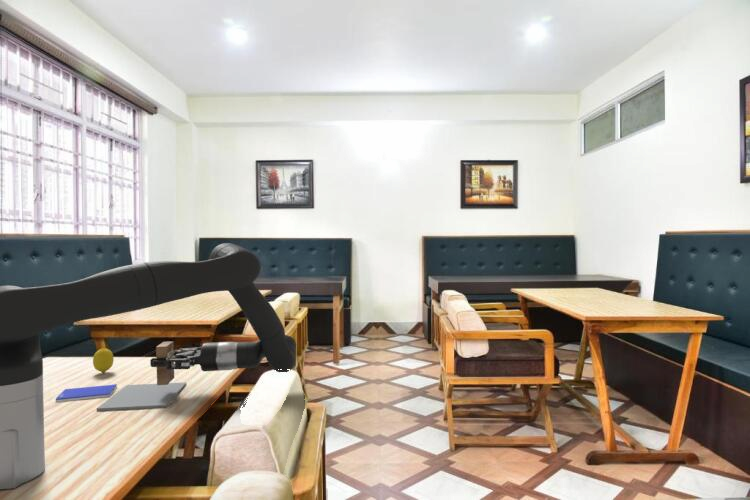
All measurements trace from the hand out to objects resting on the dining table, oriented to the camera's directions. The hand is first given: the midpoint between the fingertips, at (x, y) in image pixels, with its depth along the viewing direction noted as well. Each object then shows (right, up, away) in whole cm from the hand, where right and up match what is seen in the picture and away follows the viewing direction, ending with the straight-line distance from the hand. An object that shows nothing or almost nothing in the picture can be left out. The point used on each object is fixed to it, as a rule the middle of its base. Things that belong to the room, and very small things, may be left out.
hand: (155, 359), depth 120 cm
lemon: (-27, -10, +22) cm, 36 cm away
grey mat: (-3, -10, 0) cm, 10 cm away
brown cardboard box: (+3, -6, +1) cm, 6 cm away
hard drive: (-19, -11, +2) cm, 22 cm away
